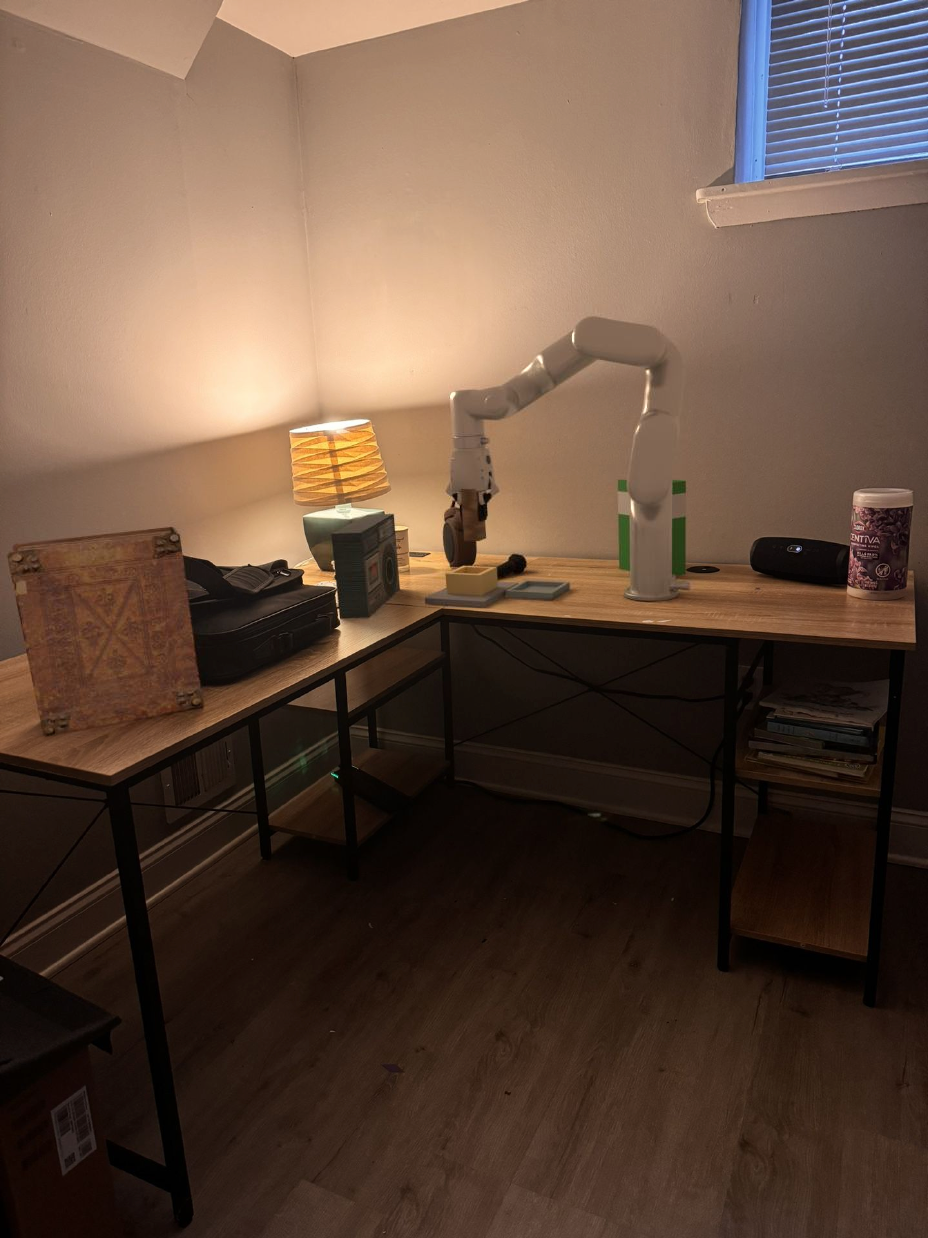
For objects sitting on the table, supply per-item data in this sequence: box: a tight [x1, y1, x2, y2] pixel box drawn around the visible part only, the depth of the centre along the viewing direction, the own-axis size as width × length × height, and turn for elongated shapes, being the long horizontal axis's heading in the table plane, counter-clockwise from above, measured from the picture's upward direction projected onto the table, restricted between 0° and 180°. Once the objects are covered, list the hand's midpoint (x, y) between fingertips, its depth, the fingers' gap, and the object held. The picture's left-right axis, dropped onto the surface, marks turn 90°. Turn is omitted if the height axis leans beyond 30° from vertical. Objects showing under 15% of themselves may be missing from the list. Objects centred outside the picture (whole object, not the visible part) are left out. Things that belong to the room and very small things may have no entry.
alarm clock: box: [442, 499, 478, 569], centre depth 243 cm, size 14×7×20 cm, turn 17°
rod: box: [461, 488, 487, 542], centre depth 207 cm, size 4×4×16 cm
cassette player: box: [330, 513, 401, 619], centre depth 211 cm, size 29×7×20 cm, turn 170°
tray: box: [505, 579, 571, 602], centre depth 211 cm, size 12×12×2 cm
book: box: [6, 526, 205, 737], centre depth 142 cm, size 25×9×30 cm, turn 112°
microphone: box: [496, 553, 528, 579], centre depth 232 cm, size 6×6×20 cm
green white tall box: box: [617, 479, 687, 577], centre depth 225 cm, size 18×7×24 cm, turn 29°
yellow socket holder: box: [424, 565, 519, 609], centre depth 212 cm, size 16×20×6 cm
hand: (474, 519), depth 208 cm, fingers closed on rod, 4 cm apart
